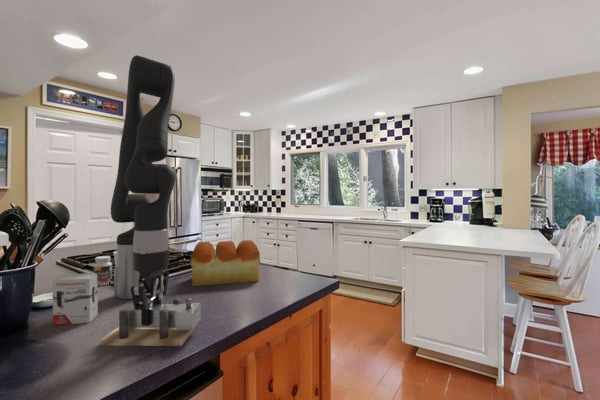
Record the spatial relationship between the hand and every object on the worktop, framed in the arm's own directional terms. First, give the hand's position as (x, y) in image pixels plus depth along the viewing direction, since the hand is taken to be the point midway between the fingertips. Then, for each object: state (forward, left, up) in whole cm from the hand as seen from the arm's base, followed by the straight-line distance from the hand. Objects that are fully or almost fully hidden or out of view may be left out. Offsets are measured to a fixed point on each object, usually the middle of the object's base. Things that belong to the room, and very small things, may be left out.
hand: (151, 320), depth 71 cm
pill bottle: (-38, +40, -4) cm, 55 cm away
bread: (+6, +47, -4) cm, 47 cm away
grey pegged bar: (+2, 0, -1) cm, 2 cm away
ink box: (-24, +8, -4) cm, 25 cm away
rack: (0, 0, -3) cm, 3 cm away
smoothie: (-38, +52, -4) cm, 64 cm away
